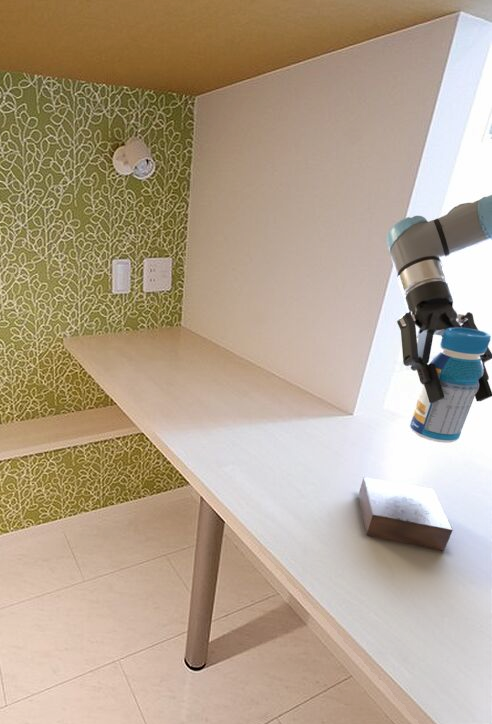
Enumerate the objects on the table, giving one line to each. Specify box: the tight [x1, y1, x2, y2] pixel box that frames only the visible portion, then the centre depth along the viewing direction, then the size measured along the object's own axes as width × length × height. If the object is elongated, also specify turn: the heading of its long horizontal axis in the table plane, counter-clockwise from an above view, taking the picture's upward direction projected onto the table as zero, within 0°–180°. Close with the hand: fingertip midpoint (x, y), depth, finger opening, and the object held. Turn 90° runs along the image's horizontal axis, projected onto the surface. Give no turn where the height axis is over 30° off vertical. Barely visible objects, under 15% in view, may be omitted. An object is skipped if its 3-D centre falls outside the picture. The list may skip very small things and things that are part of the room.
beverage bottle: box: [409, 327, 492, 444], centre depth 79 cm, size 8×8×20 cm
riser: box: [357, 476, 454, 552], centre depth 79 cm, size 12×12×4 cm
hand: (461, 399), depth 77 cm, fingers closed on beverage bottle, 8 cm apart
